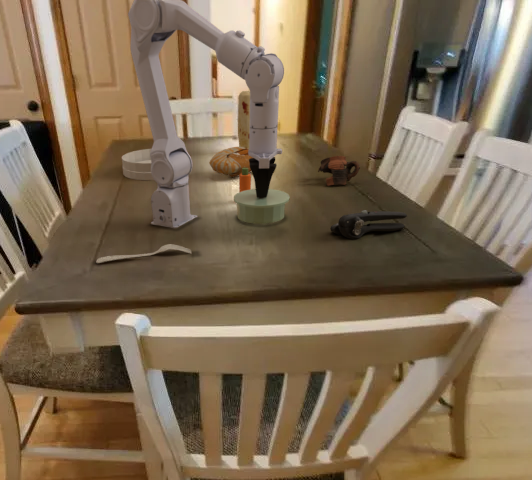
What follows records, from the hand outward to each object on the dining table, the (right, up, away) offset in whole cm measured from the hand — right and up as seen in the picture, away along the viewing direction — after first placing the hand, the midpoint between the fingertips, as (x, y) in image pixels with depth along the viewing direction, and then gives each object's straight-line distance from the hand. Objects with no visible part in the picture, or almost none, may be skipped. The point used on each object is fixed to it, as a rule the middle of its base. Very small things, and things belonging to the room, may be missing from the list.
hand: (261, 195), depth 103 cm
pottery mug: (+26, +17, +36) cm, 48 cm away
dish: (-30, +28, +54) cm, 68 cm away
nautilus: (-1, +24, +46) cm, 52 cm away
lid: (0, -1, +1) cm, 1 cm away
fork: (-25, -15, -4) cm, 29 cm away
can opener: (+25, -8, +2) cm, 26 cm away
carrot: (-2, +6, +22) cm, 23 cm away
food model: (+2, +43, +71) cm, 83 cm away
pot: (+1, -1, +13) cm, 13 cm away
